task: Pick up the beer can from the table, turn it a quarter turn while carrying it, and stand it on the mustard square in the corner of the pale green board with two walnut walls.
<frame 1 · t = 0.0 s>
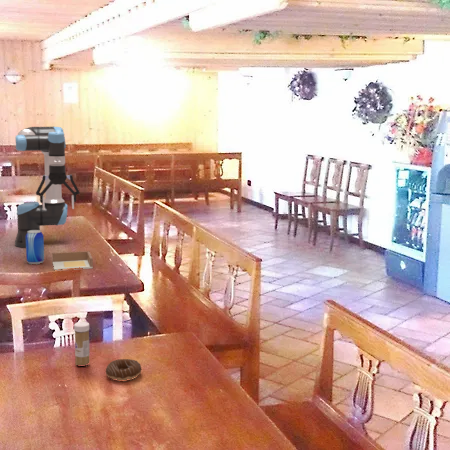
hand: (58, 209, 310), 28 cm above the table, tool pointing down, fingers open, 13 cm apart
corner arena: (72, 265, 316), on the table
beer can: (35, 263, 320), on the table
sprinkles bottle: (82, 365, 201), on the table
donut: (123, 376, 194), on the table
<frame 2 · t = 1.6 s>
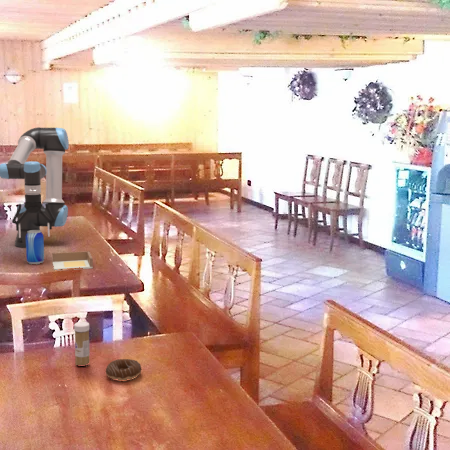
hand: (34, 236, 317), 13 cm above the table, tool pointing down, fingers open, 13 cm apart
nothing on the table moved.
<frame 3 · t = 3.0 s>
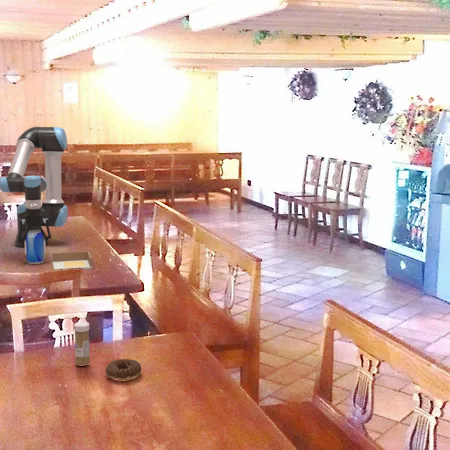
hand: (35, 253, 319), 5 cm above the table, tool pointing down, fingers closed on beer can, 8 cm apart
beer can: (35, 263, 320), on the table, touching gripper
everything else where it was.
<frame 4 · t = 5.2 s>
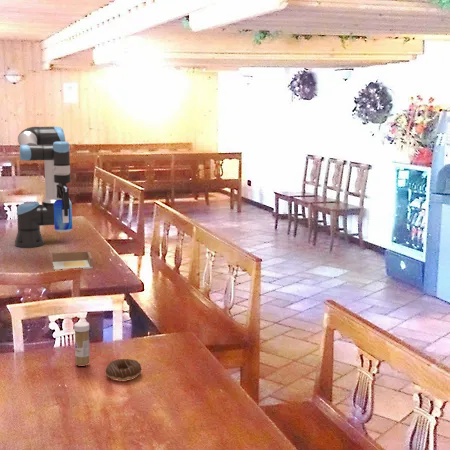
hand: (63, 221, 312), 22 cm above the table, tool pointing down, fingers closed on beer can, 8 cm apart
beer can: (63, 231, 313), point 17 cm above the table, touching gripper
everything else where it was.
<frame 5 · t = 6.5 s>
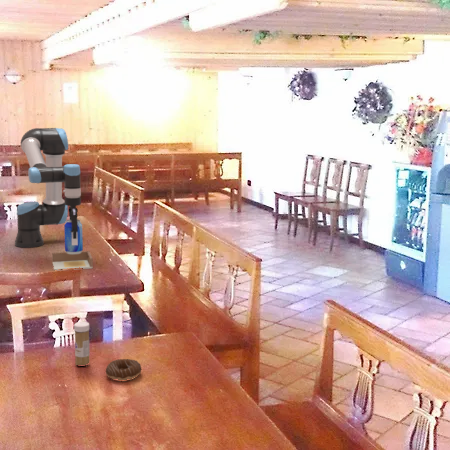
hand: (73, 242, 314), 11 cm above the table, tool pointing down, fingers closed on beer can, 8 cm apart
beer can: (74, 253, 315), point 6 cm above the table, touching gripper
everything else where it was.
when the fingers open (7 cm above the table, at t = 7.7 s): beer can drops 1 cm, resting on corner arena.
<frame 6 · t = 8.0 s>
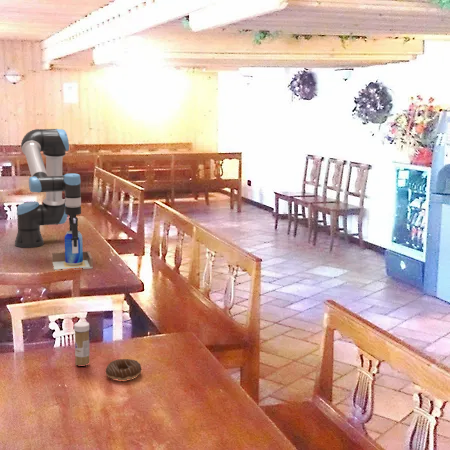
hand: (74, 250, 314), 8 cm above the table, tool pointing down, fingers open, 11 cm apart
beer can: (74, 264, 316), point 1 cm above the table, touching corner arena
everything else where it was.
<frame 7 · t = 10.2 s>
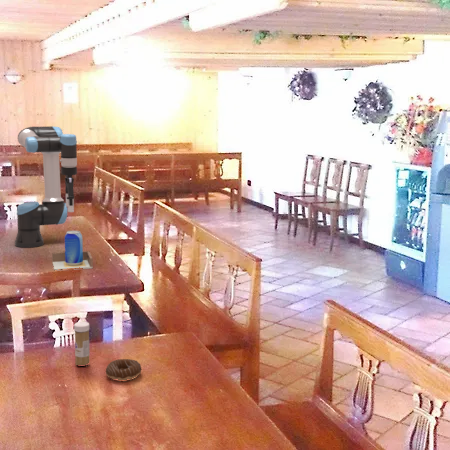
hand: (69, 209, 319), 27 cm above the table, tool pointing down, fingers open, 13 cm apart
nothing on the table moved.
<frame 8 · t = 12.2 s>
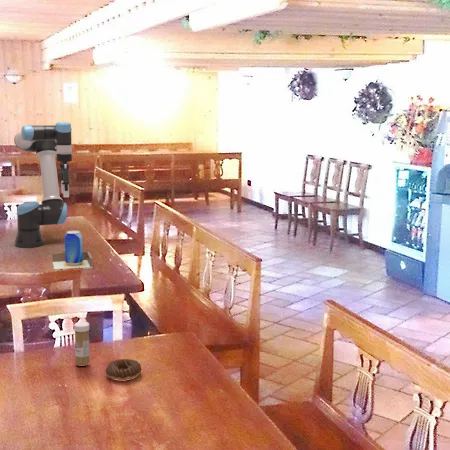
hand: (65, 195, 329), 32 cm above the table, tool pointing down, fingers open, 13 cm apart
nothing on the table moved.
at the end: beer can inside the target area (0.1 cm from its centre), point 0.7 cm above the table; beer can tilted 0°; the gripper is holding nothing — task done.
